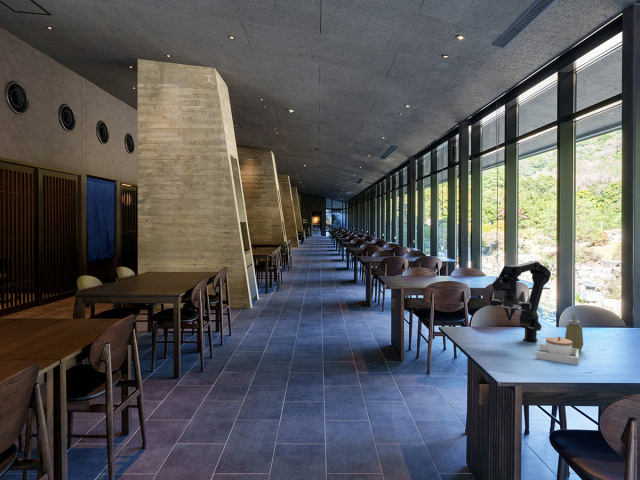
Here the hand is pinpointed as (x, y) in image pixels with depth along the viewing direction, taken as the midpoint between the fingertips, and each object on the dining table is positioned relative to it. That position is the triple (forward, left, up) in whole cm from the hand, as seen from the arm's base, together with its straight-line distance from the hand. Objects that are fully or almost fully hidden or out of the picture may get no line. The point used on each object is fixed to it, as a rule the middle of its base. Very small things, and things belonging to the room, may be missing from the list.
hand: (509, 320), depth 219 cm
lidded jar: (+10, +23, -12) cm, 28 cm away
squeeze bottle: (-7, +28, -12) cm, 31 cm away
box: (+10, +22, -12) cm, 27 cm away
